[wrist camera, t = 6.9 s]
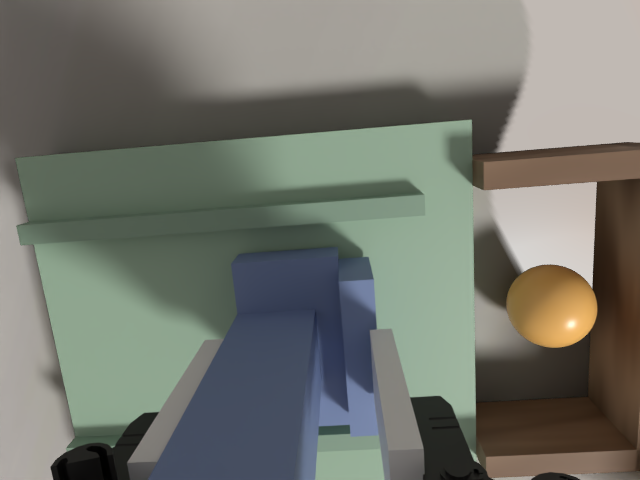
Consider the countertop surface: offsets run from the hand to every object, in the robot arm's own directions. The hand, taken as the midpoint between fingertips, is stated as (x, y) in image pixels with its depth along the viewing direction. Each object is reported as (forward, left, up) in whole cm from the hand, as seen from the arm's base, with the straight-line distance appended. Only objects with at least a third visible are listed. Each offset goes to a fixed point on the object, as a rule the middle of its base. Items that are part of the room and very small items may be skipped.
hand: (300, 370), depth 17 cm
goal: (0, +11, -6) cm, 12 cm away
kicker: (0, 0, -4) cm, 4 cm away
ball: (0, +10, -4) cm, 11 cm away
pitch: (0, -2, -6) cm, 6 cm away
